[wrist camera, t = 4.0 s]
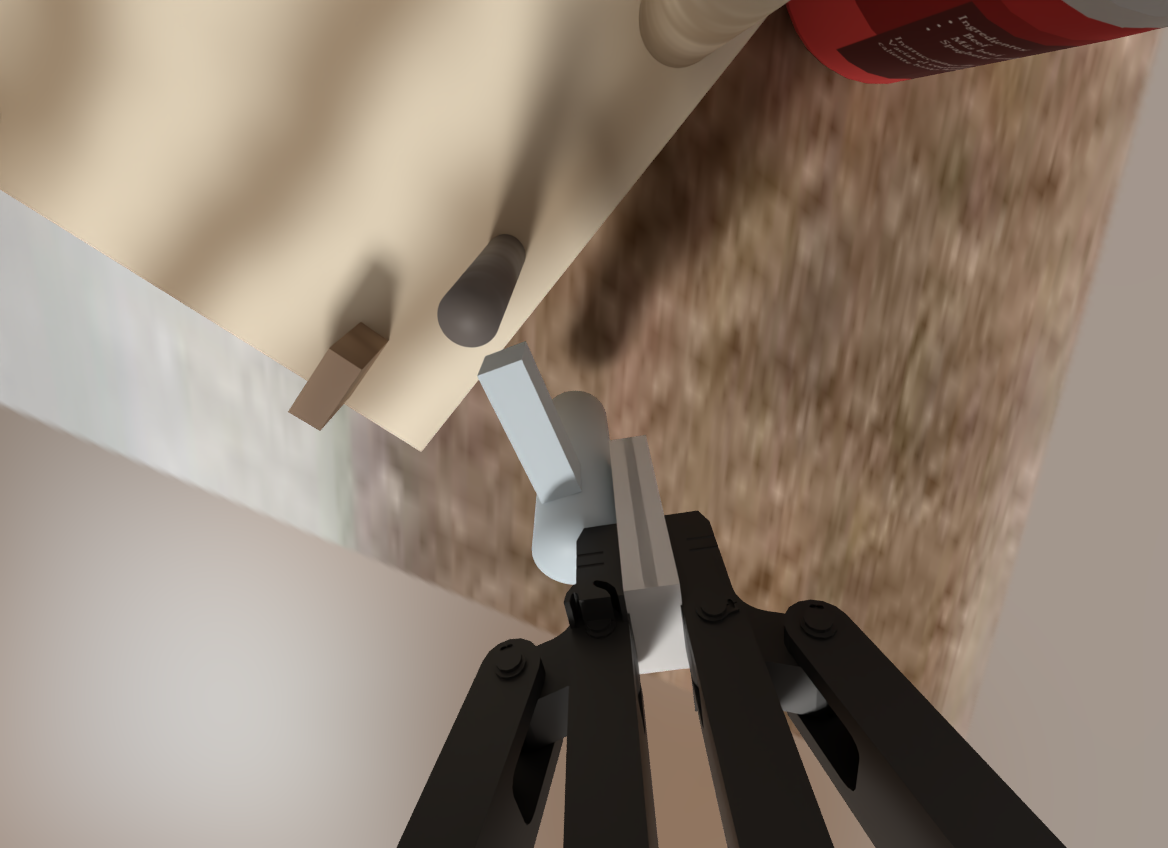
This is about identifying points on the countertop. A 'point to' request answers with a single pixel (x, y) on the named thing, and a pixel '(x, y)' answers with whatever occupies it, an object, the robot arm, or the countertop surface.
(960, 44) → the canned food
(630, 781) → the robot arm
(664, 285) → the countertop surface
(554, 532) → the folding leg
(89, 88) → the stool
